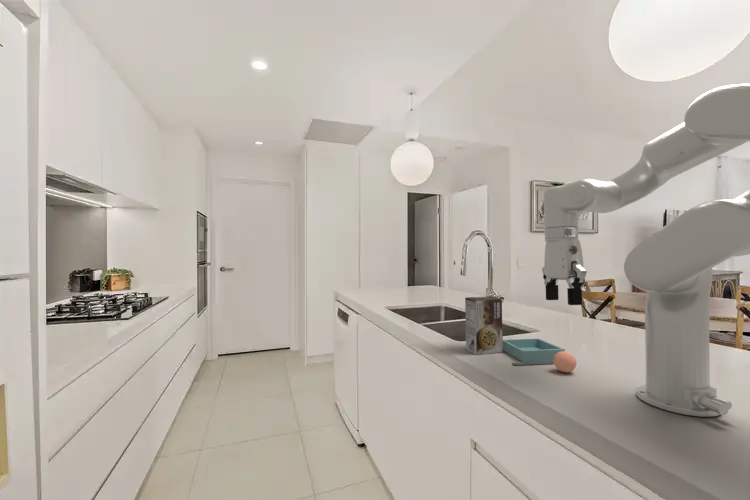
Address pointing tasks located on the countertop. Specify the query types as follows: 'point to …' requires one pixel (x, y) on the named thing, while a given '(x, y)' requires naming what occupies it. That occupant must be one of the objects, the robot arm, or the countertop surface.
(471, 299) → the coffee box
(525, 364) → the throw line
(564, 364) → the ball
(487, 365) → the countertop surface
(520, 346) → the tray
